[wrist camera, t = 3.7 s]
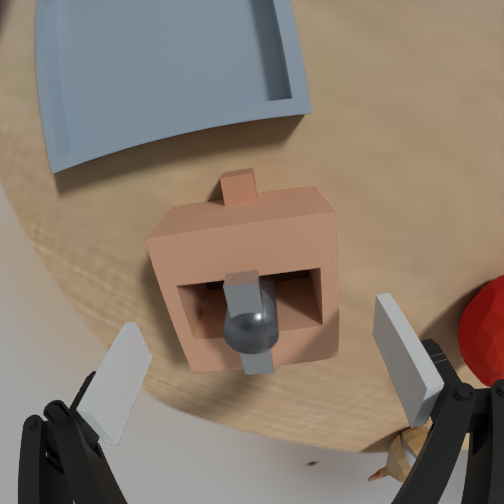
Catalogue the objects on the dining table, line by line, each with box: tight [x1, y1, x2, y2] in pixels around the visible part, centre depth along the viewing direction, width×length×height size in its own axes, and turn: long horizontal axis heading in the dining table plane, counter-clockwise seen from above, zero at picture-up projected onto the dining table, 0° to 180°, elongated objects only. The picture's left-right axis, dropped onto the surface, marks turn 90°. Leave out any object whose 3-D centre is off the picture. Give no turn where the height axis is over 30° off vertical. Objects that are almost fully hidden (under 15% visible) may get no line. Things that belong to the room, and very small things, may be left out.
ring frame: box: [145, 169, 339, 372], centre depth 19 cm, size 10×12×6 cm
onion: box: [368, 426, 429, 483], centre depth 30 cm, size 9×9×15 cm
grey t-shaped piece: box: [223, 270, 279, 375], centre depth 18 cm, size 3×6×8 cm, turn 9°
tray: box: [35, 0, 312, 174], centre depth 14 cm, size 18×18×2 cm
